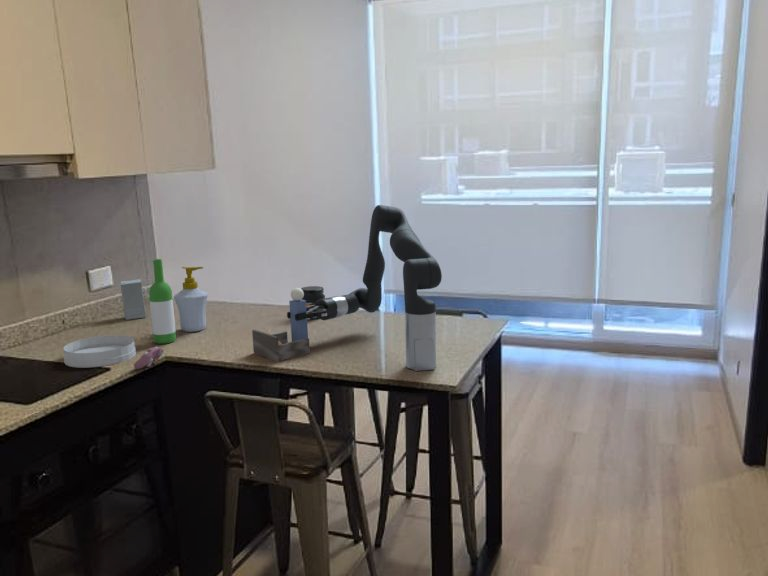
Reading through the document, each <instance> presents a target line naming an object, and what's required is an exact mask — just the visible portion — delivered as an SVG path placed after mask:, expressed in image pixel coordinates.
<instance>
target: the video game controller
mask: <svg viewBox="0 0 768 576" xmlns="http://www.w3.org/2000/svg"><path fill="white" fill-rule="evenodd" d="M163 353H164V349H163V348H161V347H158V346H157V345H156V346H154V347H150V348H148V349H147V351H145V353H143V354H142V355H141V356H140V357H139V358H138V359H137V360H136V361H135V362H134V364H133V368H134V369H135V370H141V369H143V368H144V367H145V366H146V367H147V368H150V367H151V366H152V365H155V364H156V363H157V362H158V360H159V359H160V358H161V357H162V355H163Z"/></svg>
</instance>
